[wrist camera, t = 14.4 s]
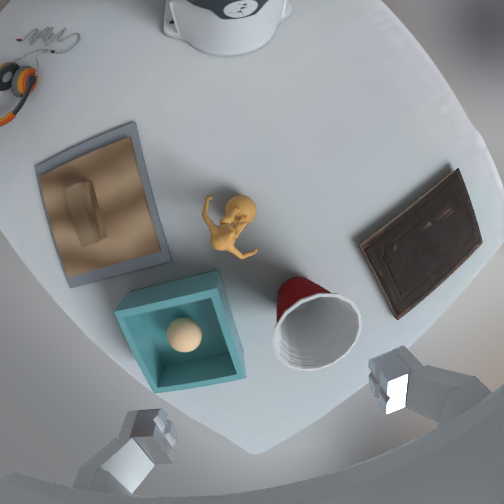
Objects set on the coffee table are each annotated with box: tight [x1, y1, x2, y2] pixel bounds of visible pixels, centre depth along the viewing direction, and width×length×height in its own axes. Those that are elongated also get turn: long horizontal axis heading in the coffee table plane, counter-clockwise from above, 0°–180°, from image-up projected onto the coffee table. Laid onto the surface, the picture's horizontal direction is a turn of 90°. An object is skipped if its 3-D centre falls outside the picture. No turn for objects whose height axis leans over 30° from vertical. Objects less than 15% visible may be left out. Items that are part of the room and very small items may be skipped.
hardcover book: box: [359, 168, 483, 320], centre depth 42 cm, size 16×23×2 cm
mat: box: [35, 122, 172, 288], centre depth 37 cm, size 20×18×1 cm
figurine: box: [202, 195, 258, 259], centre depth 33 cm, size 8×6×12 cm
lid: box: [39, 137, 161, 278], centre depth 34 cm, size 16×16×5 cm
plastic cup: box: [272, 277, 362, 371], centre depth 37 cm, size 11×11×12 cm
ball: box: [167, 317, 202, 352], centre depth 39 cm, size 5×5×5 cm
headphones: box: [0, 27, 80, 126], centre depth 28 cm, size 17×5×20 cm
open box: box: [114, 270, 246, 393], centre depth 39 cm, size 14×14×7 cm
